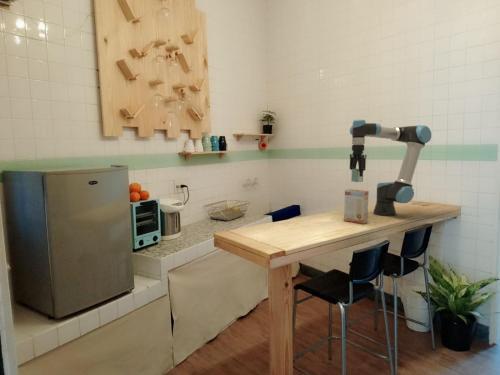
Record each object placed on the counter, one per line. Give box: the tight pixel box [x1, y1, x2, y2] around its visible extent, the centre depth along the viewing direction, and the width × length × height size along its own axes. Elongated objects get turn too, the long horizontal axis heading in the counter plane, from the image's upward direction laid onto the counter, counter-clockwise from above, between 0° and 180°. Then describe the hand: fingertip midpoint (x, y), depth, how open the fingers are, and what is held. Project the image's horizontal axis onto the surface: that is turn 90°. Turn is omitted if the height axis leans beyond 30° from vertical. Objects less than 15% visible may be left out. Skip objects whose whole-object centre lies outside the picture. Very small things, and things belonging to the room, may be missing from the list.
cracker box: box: [343, 188, 370, 225], centre depth 217 cm, size 14×6×21 cm, turn 41°
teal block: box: [350, 168, 364, 183], centre depth 214 cm, size 5×5×8 cm
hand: (356, 181), depth 215 cm, fingers closed on teal block, 5 cm apart
